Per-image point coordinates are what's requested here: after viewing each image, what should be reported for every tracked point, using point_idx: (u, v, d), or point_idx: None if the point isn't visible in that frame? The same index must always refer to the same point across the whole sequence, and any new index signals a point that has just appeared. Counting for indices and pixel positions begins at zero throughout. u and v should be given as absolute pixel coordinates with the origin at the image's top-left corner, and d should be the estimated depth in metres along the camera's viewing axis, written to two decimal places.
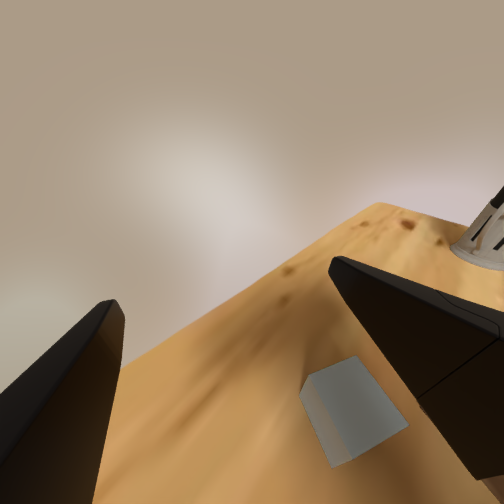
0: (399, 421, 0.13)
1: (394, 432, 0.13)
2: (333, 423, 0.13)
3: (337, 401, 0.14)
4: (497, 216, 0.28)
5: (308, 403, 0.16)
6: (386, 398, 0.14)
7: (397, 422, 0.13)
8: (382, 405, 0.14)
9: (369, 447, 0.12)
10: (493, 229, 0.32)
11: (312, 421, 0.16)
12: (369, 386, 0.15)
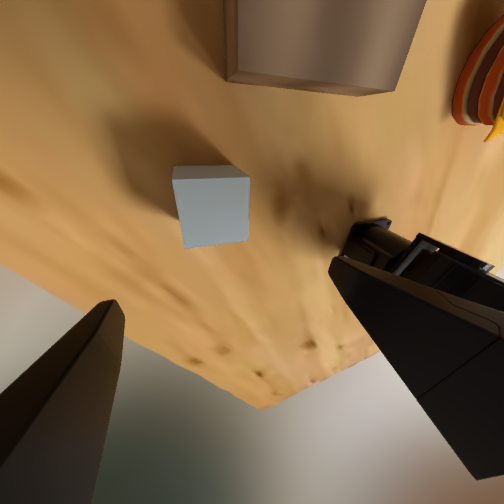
0: (244, 185, 0.13)
1: (248, 196, 0.13)
2: (226, 243, 0.15)
3: (214, 233, 0.14)
4: None
5: None
6: (225, 180, 0.12)
7: (244, 187, 0.13)
8: (229, 191, 0.13)
9: (247, 224, 0.15)
10: None
11: None
12: (210, 191, 0.12)
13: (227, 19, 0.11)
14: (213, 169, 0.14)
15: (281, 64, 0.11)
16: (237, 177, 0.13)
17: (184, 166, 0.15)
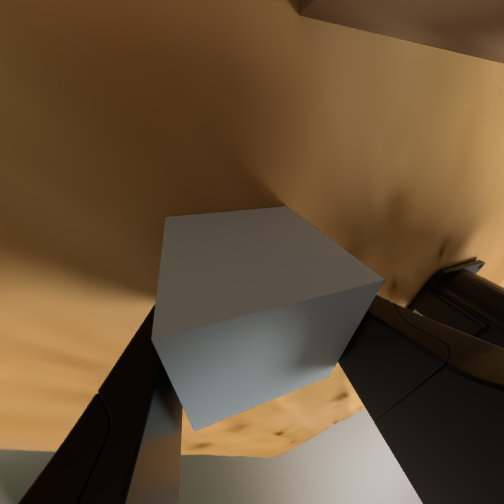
0: (365, 298, 0.05)
1: (361, 316, 0.05)
2: (285, 391, 0.07)
3: (265, 390, 0.06)
4: None
5: None
6: (323, 301, 0.04)
7: (361, 303, 0.05)
8: (323, 319, 0.04)
9: (338, 357, 0.06)
10: None
11: None
12: (276, 331, 0.04)
13: None
14: (259, 231, 0.06)
15: None
16: (351, 283, 0.04)
17: (189, 220, 0.07)
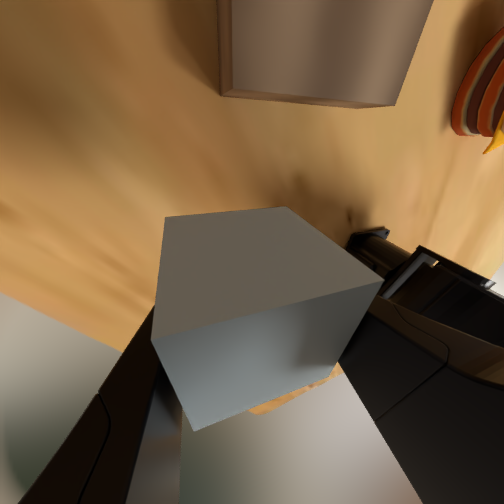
0: (364, 299, 0.05)
1: (360, 316, 0.05)
2: (285, 391, 0.07)
3: (264, 391, 0.06)
4: None
5: None
6: (322, 301, 0.04)
7: (361, 303, 0.05)
8: (322, 319, 0.04)
9: (337, 357, 0.06)
10: None
11: None
12: (275, 332, 0.04)
13: (221, 33, 0.11)
14: (258, 232, 0.06)
15: (278, 81, 0.11)
16: (351, 283, 0.04)
17: (189, 220, 0.07)
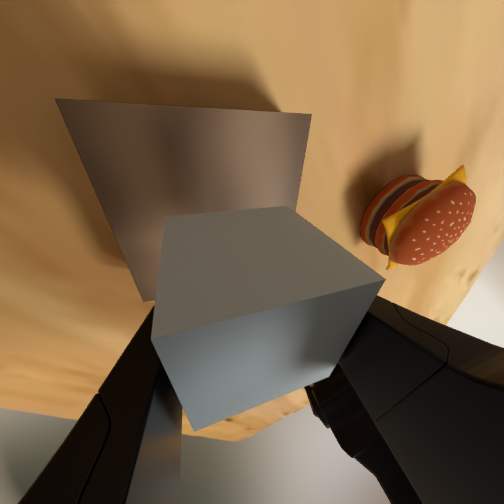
0: (365, 298, 0.05)
1: (361, 315, 0.05)
2: (285, 392, 0.07)
3: (264, 391, 0.06)
4: None
5: None
6: (323, 300, 0.04)
7: (362, 303, 0.05)
8: (324, 318, 0.04)
9: (338, 357, 0.06)
10: None
11: None
12: (276, 331, 0.04)
13: None
14: (259, 231, 0.06)
15: None
16: (352, 283, 0.04)
17: (189, 219, 0.07)
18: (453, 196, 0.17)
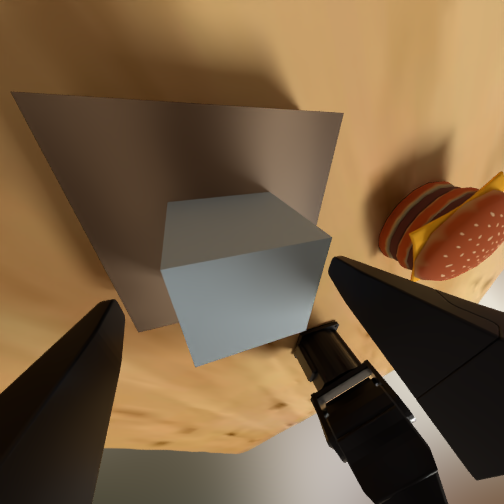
0: (318, 253, 0.06)
1: (320, 270, 0.07)
2: (269, 340, 0.08)
3: (249, 335, 0.07)
4: None
5: None
6: (283, 251, 0.06)
7: (317, 257, 0.06)
8: (287, 268, 0.06)
9: (309, 310, 0.08)
10: None
11: None
12: (249, 275, 0.06)
13: None
14: (242, 210, 0.08)
15: None
16: (305, 240, 0.06)
17: (187, 203, 0.08)
18: (493, 207, 0.15)
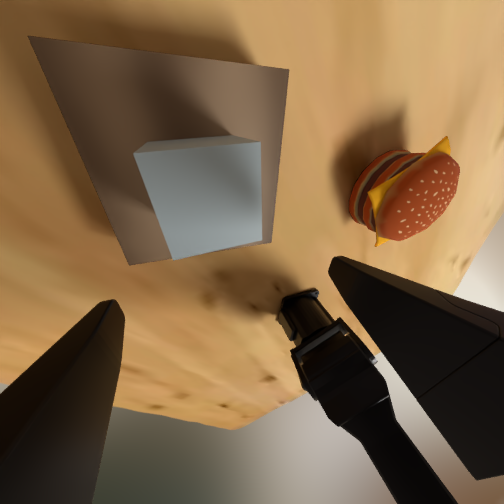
0: (253, 155, 0.08)
1: (259, 174, 0.09)
2: (232, 246, 0.11)
3: (213, 234, 0.10)
4: None
5: None
6: (223, 150, 0.08)
7: (253, 160, 0.08)
8: (229, 168, 0.08)
9: (260, 217, 0.10)
10: None
11: None
12: (200, 169, 0.08)
13: None
14: (203, 140, 0.10)
15: (164, 254, 0.15)
16: (240, 143, 0.08)
17: (162, 141, 0.10)
18: (436, 165, 0.17)
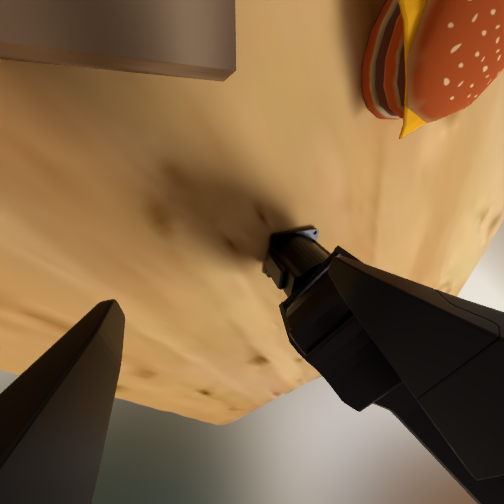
0: None
1: None
2: None
3: None
4: None
5: None
6: None
7: None
8: None
9: None
10: None
11: None
12: None
13: None
14: None
15: (14, 26, 0.08)
16: None
17: None
18: None
